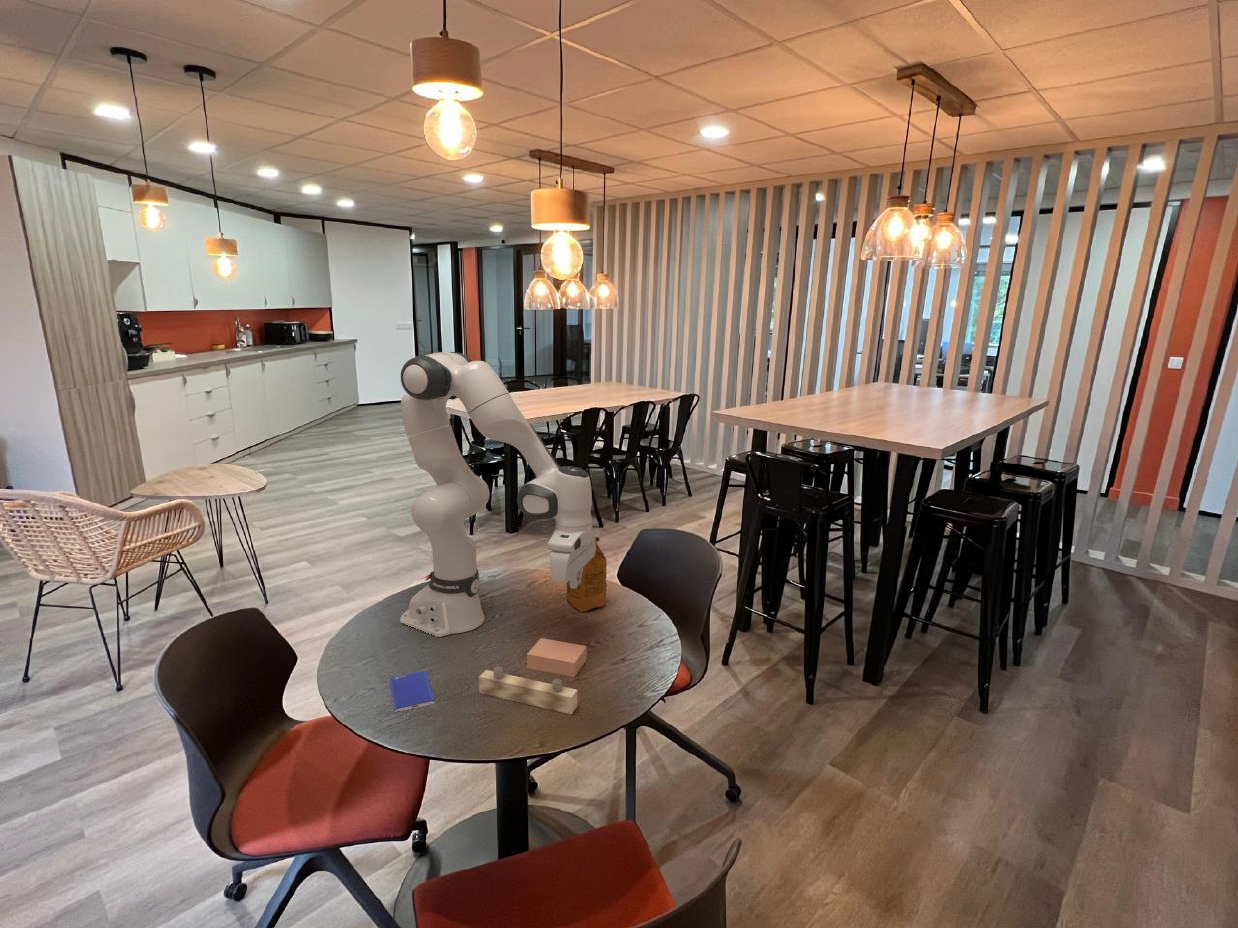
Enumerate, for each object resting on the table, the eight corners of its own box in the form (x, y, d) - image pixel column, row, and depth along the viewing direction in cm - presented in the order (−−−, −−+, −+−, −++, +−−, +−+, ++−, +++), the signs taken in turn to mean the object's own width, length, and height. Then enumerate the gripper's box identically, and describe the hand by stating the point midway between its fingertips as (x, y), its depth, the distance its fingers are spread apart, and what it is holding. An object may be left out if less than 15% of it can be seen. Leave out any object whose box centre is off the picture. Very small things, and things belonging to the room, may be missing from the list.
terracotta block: (527, 669, 149) (526, 654, 148) (541, 652, 157) (540, 637, 156) (574, 678, 146) (574, 662, 145) (586, 660, 153) (586, 646, 152)
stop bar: (479, 692, 139) (478, 668, 137) (486, 685, 142) (485, 661, 140) (571, 714, 132) (571, 688, 131) (577, 706, 135) (577, 681, 133)
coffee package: (592, 591, 191) (592, 522, 186) (610, 608, 180) (611, 535, 175) (561, 597, 187) (561, 526, 182) (578, 614, 176) (578, 540, 171)
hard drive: (388, 677, 142) (394, 708, 131) (426, 669, 146) (434, 699, 135) (389, 683, 143) (394, 715, 132) (426, 675, 146) (435, 705, 135)
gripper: (578, 519, 164) (579, 569, 167) (544, 545, 145) (546, 601, 148) (601, 521, 162) (602, 572, 165) (569, 548, 143) (571, 604, 146)
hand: (575, 586), depth 157 cm, fingers closed
